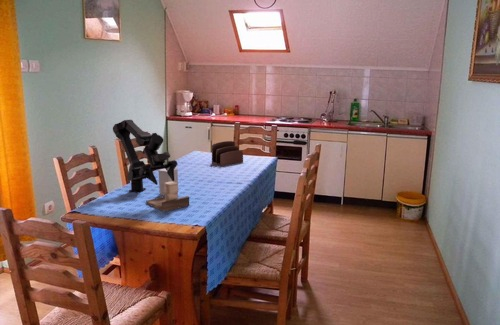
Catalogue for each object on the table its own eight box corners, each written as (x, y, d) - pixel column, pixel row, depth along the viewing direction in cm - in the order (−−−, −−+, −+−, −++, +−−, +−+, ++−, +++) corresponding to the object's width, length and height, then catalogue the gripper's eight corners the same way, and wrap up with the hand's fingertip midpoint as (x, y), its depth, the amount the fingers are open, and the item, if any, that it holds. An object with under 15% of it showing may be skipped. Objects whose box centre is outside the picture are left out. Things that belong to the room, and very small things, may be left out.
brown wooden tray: (146, 203, 206) (145, 194, 205) (170, 197, 215) (170, 189, 214) (163, 211, 194) (163, 203, 193) (189, 205, 204) (189, 196, 203)
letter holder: (211, 163, 288) (211, 143, 285) (234, 159, 301) (234, 139, 297) (220, 166, 281) (220, 145, 277) (243, 162, 293) (243, 141, 290)
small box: (168, 190, 226) (168, 166, 223) (178, 192, 223) (177, 168, 220) (159, 194, 219) (158, 170, 216) (169, 196, 216) (168, 171, 213)
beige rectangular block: (165, 202, 202) (164, 182, 200) (172, 201, 205) (171, 181, 203) (170, 205, 199) (170, 185, 196) (177, 203, 201) (177, 183, 199)
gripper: (140, 148, 197) (154, 176, 191) (175, 144, 209) (188, 170, 204) (133, 162, 204) (145, 189, 199) (167, 156, 216) (179, 182, 211)
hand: (165, 182), depth 203 cm, fingers open, 9 cm apart
